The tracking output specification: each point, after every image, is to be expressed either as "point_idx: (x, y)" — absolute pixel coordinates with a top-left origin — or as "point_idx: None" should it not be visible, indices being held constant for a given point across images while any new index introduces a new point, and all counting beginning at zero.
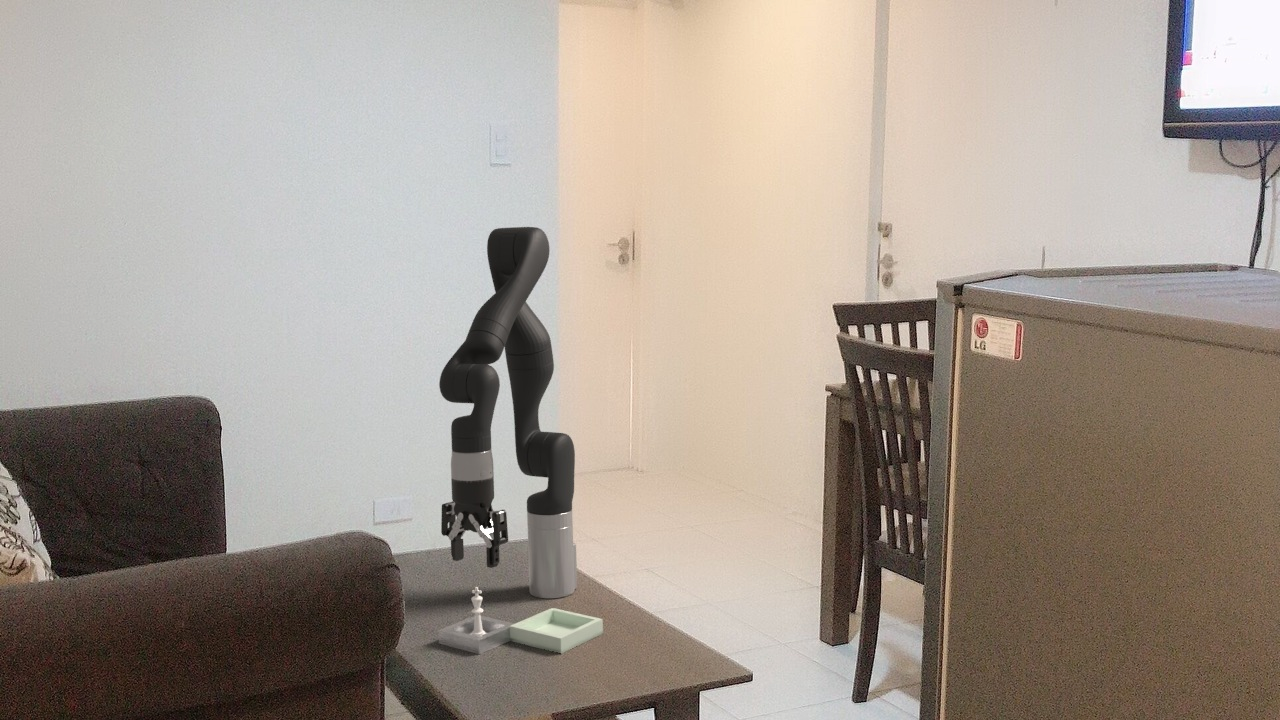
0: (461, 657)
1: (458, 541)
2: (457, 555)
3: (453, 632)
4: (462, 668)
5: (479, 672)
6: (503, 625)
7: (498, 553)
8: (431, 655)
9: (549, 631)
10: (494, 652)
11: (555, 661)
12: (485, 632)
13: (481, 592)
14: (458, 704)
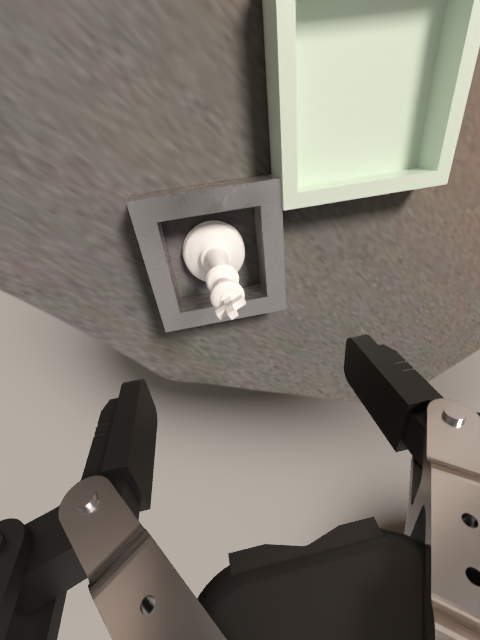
0: (261, 323)
1: (141, 485)
2: (150, 423)
3: (203, 318)
4: (300, 346)
5: (335, 337)
6: (252, 205)
7: (420, 380)
8: (210, 352)
9: (330, 90)
10: (293, 269)
11: (427, 217)
12: (208, 229)
13: (242, 296)
14: None
